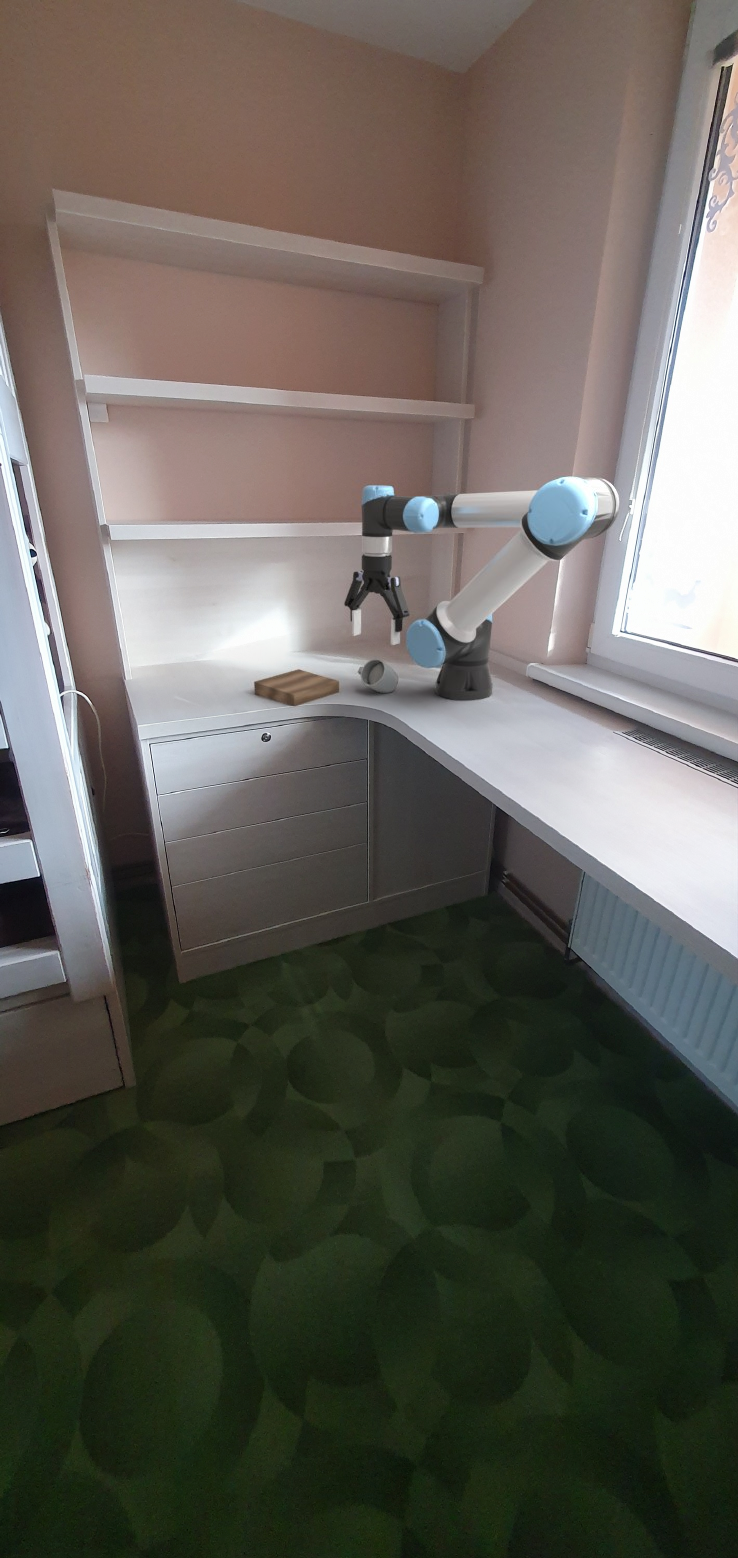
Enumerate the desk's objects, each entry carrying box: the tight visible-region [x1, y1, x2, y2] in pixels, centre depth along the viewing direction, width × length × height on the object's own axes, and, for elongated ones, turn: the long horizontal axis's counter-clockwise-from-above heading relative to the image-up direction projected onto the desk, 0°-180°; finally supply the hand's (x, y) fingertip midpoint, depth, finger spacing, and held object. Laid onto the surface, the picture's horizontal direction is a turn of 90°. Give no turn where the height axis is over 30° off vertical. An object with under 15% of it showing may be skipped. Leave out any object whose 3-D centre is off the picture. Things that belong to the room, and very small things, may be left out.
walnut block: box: [253, 669, 340, 707], centre depth 175 cm, size 16×16×4 cm
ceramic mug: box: [357, 658, 399, 694], centre depth 174 cm, size 11×8×8 cm
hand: (375, 639), depth 170 cm, fingers open, 13 cm apart
